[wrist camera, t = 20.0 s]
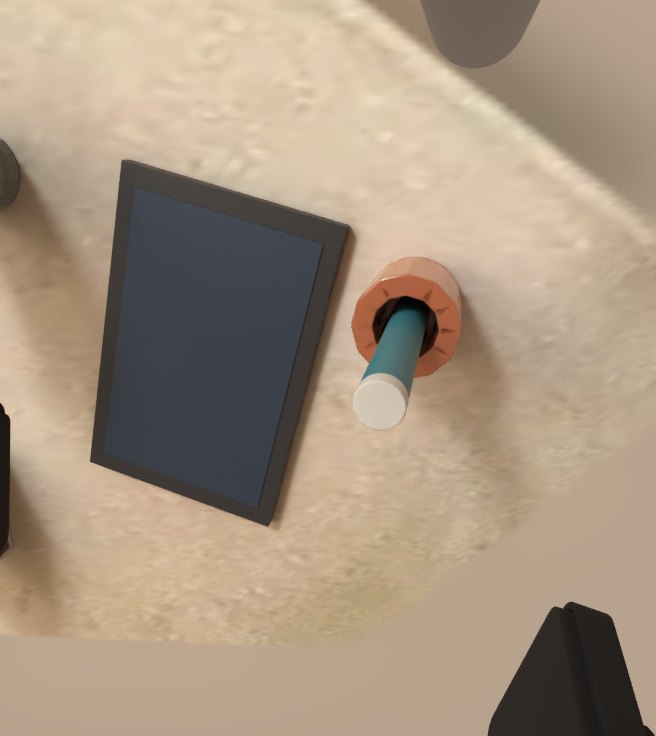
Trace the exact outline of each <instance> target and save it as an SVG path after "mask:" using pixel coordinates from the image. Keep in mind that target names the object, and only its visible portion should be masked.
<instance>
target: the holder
mask: <svg viewBox="0 0 656 736" xmlns="http://www.w3.org/2000/svg"><path fill="white" fill-rule="evenodd" d="M403 296H409V297H412V298H415V299H419V300H422V301H424V302H425V303H426V304H427V305H428V306H429V308H430V311H429V316H428V320H427V324H426V329H425V333H424V337H423V341H422V345H421V349H420V354H419V358H418V362H417V366H416V370H415V374H414V378H416V377H422V376H428V375H430V374H432V373H434V372H435V371H436V370H437V369H439V368H440V367H441V366H442V365H444V364H445V363H446V362H447V361H449V360H450V359H451V358H452V356H453V354H454V351H455V349H456V346H457V343H458V341H459V338H460V335H461V330H462V302H461V294H460V290H459V287H458V284H457V282H456V281H455V279H454V277H453V276H452V275H451V273H450V272H449V271H448V270H447V269H446V268H444V267H443V266H442V265H440V264H439V263H437V262H435V261H432V260H430V259H426V258H421V257H409V258H403V259H400V260H397V261H395V262H392V263H391V264H389V265H388V266H386V267H385V268H384V269H383V270H382V271H381V272H380V273H379V274H378V275H377V276H376V277H375V278H374V279H373V280H372V282H371V283H370V284H369V286H368V287H367V288H366V290H365V291H364V293H363V294H362V295H361V297H360V298H359V300H358V302H357V305H356V309H355V313H354V316H353V320H352V323H351V324H352V331H353V335H354V339H355V342H356V346H357V350H358V351H359V353H360V354H361V355H362V356H363V357H364V358H365V359H366V360H367V361H368V362H369V363H370V361H371V359H372V356H373V354H374V352H375V350H376V348H377V346H378V344H379V341H380V339H381V337H382V335H383V333H384V331H385V328H386V326H387V324H388V322H389V320H390V318H391V315H392V313H393V311H394V309H395V307H396V305H397V303H398V301H399V299H400V298H401V297H403Z"/></svg>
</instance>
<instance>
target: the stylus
mask: <svg viewBox="0 0 656 736" xmlns="http://www.w3.org/2000/svg"><path fill="white" fill-rule="evenodd" d="M429 311H430V308H429V306H428V305H427V304H426V303H425V302H424V301H422V300H419V299H415V298H412V297H409V296H403V297H401V298H400V299H399V301H398V303H397V305H396V307H395V309H394V311H393V313H392V315H391V318H390V320H389V322H388V324H387V326H386V328H385V331H384V333H383V335H382V337H381V339H380V341H379V344H378V346H377V348H376V350H375V352H374V354H373V356H372V359H371V361H370V363H369V365H368V367H367V369H366V372H365V374H364V376H363V378H362V380H361V382H360V384H359V386H358V387H357V390H356V392H355V394H354V396H353V401H352V406H353V411H354V414H355V416H356V417H357V419H358V420H359V421H360V422H361V423H362V424H363V425H365V426H366V427H368V428H371V429H374V430H389V429H391V428H394V427H396V426H397V425H398V424H399V423H400V422H401V421H402V420H403V418H404V417H405V414H406V410H407V406H408V401H409V395H410V391H411V387H412V383H413V379H414V374H415V370H416V366H417V362H418V358H419V354H420V349H421V345H422V341H423V337H424V333H425V329H426V324H427V320H428V316H429Z"/></svg>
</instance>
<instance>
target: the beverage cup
mask: <svg viewBox="0 0 656 736" xmlns="http://www.w3.org/2000/svg"><path fill="white" fill-rule="evenodd" d="M19 182H20V175H19V168H18V164H17V162H16V159H15V157H14V154H13V153H12V151H11V150H10V148H9V147H8V146H7V144H6V143H5V142H4V141H3V140H2V139H0V208H3V207H6V206H8V205H9V204H10V203H11V202H12V201H13V200H14V199H15V196H16V194H17V192H18V190H19Z"/></svg>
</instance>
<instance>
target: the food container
mask: <svg viewBox="0 0 656 736" xmlns="http://www.w3.org/2000/svg"><path fill="white" fill-rule="evenodd" d="M12 548H13V546H12V540H11V534H10V528H9V537H8V540H7V543H6V545H5V547H4V549H3V550H2V551H1V553H0V561H1V560H2V559H3V558H4V557H5V556H6V555H7V554H8V553H9V551H10V550H11V549H12Z"/></svg>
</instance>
